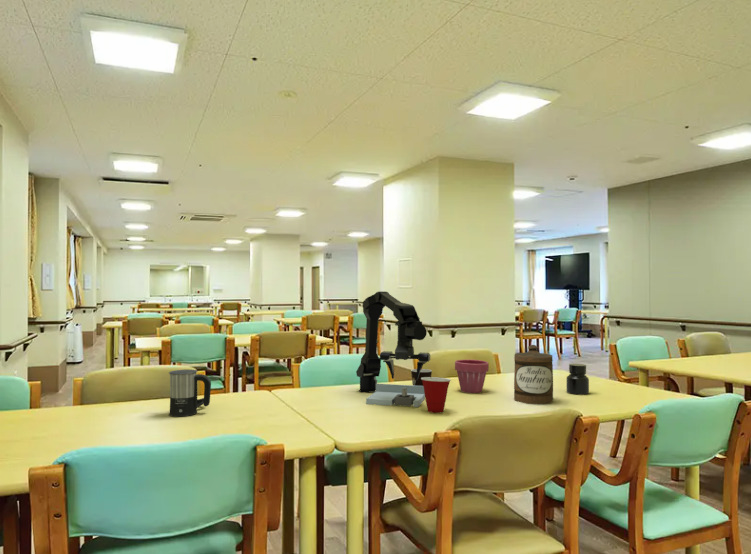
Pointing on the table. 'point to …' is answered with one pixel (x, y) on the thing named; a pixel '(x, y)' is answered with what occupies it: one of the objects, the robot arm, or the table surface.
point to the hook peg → (404, 392)
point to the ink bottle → (577, 379)
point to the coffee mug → (420, 376)
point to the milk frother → (187, 392)
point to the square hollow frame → (403, 400)
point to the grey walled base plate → (389, 391)
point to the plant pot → (471, 374)
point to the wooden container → (533, 377)
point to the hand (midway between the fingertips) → (404, 379)
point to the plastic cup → (435, 393)
